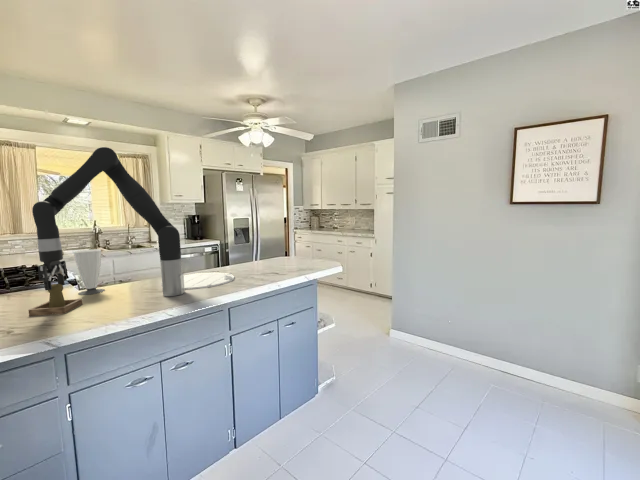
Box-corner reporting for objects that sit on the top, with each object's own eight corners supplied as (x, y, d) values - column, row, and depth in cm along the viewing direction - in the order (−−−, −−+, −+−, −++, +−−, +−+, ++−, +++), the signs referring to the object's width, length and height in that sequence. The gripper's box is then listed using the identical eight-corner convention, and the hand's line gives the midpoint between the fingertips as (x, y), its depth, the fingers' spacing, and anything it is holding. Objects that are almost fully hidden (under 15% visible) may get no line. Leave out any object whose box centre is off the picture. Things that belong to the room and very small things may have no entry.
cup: (91, 295, 161) (86, 252, 159) (72, 294, 164) (67, 252, 162) (110, 289, 173) (106, 249, 170) (92, 289, 175) (88, 249, 173)
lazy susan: (244, 274, 205) (244, 268, 205) (219, 289, 167) (219, 283, 166) (184, 274, 209) (183, 269, 209) (146, 290, 171) (145, 283, 170)
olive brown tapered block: (64, 306, 143) (61, 282, 142) (68, 309, 139) (65, 283, 138) (47, 310, 139) (44, 284, 138) (50, 312, 135) (47, 286, 134)
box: (82, 304, 146) (82, 298, 146) (64, 313, 134) (64, 307, 133) (50, 306, 144) (49, 300, 144) (29, 315, 131) (28, 309, 131)
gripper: (49, 251, 130) (54, 291, 132) (70, 246, 144) (74, 283, 146) (27, 252, 129) (33, 292, 130) (51, 248, 143) (56, 284, 144)
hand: (55, 287), depth 138 cm, fingers open, 8 cm apart
